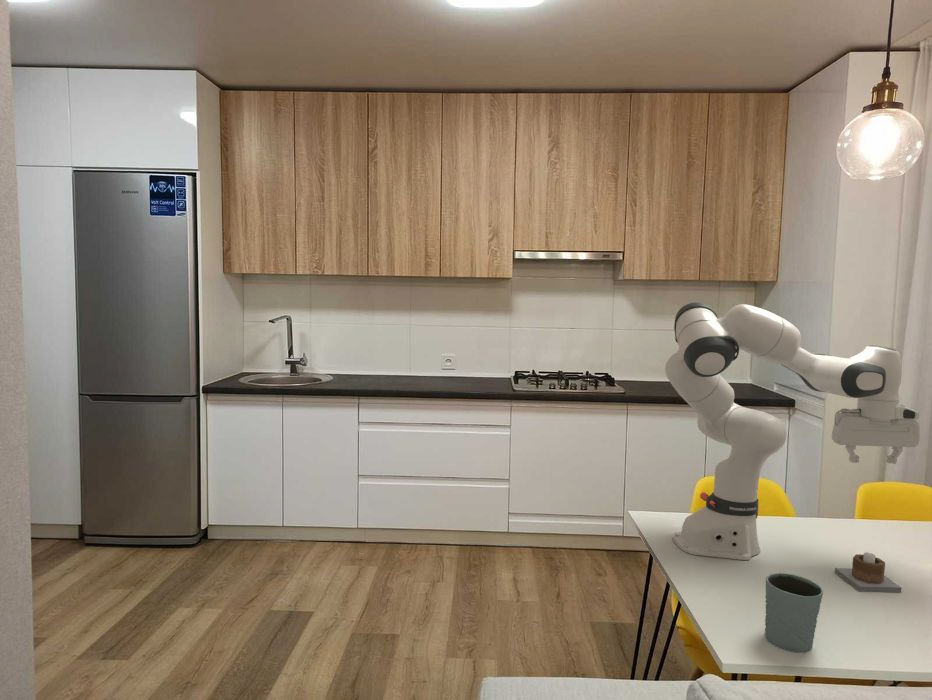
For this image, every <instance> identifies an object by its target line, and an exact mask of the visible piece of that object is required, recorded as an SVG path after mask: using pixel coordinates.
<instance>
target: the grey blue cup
mask: <svg viewBox="0 0 932 700" xmlns="http://www.w3.org/2000/svg"><path fill="white" fill-rule="evenodd" d="M823 595H824V591H823V588H822V586H820V585H819V584H818V583H817V582H815V581H812V580H810V579H808V578H806V577H802V576H799V575H795V574H791V573H786V572H785V573H784V572H775V573H770V574H768V575H767V576H766V577H765V601H764V602H765V616H764V617H765V619H764V625H765V627H764V636H765V639H766V641H767V642H769V643H770V644H771V645H772V646H774V647H776V648H777V649H781V650H783V651H786V652H789V653H798V654H799V653H801V654H802V653H808V652H810V651H811V650H812V648H813V644H814V638H815V633H816V628H817V623H818V615H819V613H820V609H821V604H822V600H823Z"/></svg>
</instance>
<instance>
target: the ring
mask: <svg viewBox="0 0 932 700" xmlns="http://www.w3.org/2000/svg"><path fill="white" fill-rule="evenodd" d="M863 557H864V554H861V553H860V554H855V555H854V556H853V557H852V565H851V568H852V575H853V576H854V577H855V578H857V579H858V580H861V581H865V582H868V583H882V582H883V580H884V576H885V570H886V569H885V568H886V562H885V561H884V560H882V559H881V558H879V557H877V556H875V563H868V562H864V561H863Z"/></svg>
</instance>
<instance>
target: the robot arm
mask: <svg viewBox="0 0 932 700" xmlns="http://www.w3.org/2000/svg"><path fill="white" fill-rule="evenodd" d="M673 329H674V337H675V338H674V339H675V342H676V343H677V344H678V350H677V351H676V352H675V353H673V354H672V355H671V356H669V358H668V359H667V361H666V363H665V367H664V372H665V375H666V377H667V379H668V381H669V383H670V384H671V386H672V387H673V388H674V390H675V392H677V394H678V395H679V396H680V397H681V398H682V399H683V401H685V402H686V403H687V404H688V405H689V406H690V407H691V408H692V410H694V411H695V412H696V413H697V427H698V429H699V431H700V432H701V433H702V434H703V435H704V436H706V437H708V438H710V439H711V440H713V441H716V442H718V443H720V444H721V443H722V444H724V445H728V446H731V450H730V453H729V456H728V457H727V459H726V458H725V459H724V460H722V461H720V462H718V463H717V464H716V466H715V468H714V480H713V492H712V493H711V494H708V493H706V492H705V491H703V492H701V493H700V495H699V497H700V499H701V500H702V501H704V502H705V505H704V506H703V507H701V508H700V509H698V510H696V511H695V512H693V513H690V515H688V516H687V517H685V519H684V521H683V523H682V528H681V531H675V532H674V533H673V534H672V540H673V542H674V543H675V545H676V546H677V547H678V548H679V549H680V550H681V551H683V552H685V553H687V554H690V555H694V556H703V557H714V558H721V559H732V560H740V561H741V560H742V561H743V560H744V561H748V560H750V559H751V558H752V557H753V556H756V555H758V554H759V553H760V551H761V548H760V544H759V541H758V533H757V532H758V530H757V519H758V515H759V498H758V492H759V491H758V490H759V480H760V474H761V471H762V468H763V466H764V464H765V462H766V461H767V460H768V458H769V457H770V456H772V455H774V454H775V453H777V452H779V451H780V450H781V448H782V447H783V446H784V445H785V442H786V440H787V428H786V425H785V423H784V422H783V420H781V418H778V417H777V416H774V415H772V414H770V413H768V412H766V411H762V410H757V409H753V408H748V407H744V406H742V405H739V404H738V403H735V402H734V401H735V390H734V388H733V387H732V386H731V385H730V384H729V383H728V382H727V380H726V379H725V377H723V376H722V375H721V373H723V372H724V371H725V370H727V368H729V367H730V365H732V362H733V361H735V360H736V359H737V358H738V357H739V353H740V350H741V351H744V352H746V353H748V354H749V355H752V356H754V357H756V358H758V359H761V361H765V362H768V363H771V364H777V365H781V366H782V367H784V368H786V369H787V370H789V371H792V372H793V373H794V374H796V375H798V376H799V378H800V379H801V380H802V382H803V383H804V384H805V385H806V386H807V388H809V389H811V390H812V391H815V392H820V393H827V394H832V395H836V396H842V397H846V398H848V399H849V398H851V399H857V404H856V408H841V409H840V410H837V411H836V412H835V414H834V417H833V418H834V419H833V420H834V423H833V425H832V426H833V427H832V431H831V440H832V442H834V444H837V445H839V446H845V449H846V451H847V453H848V455H849V457H848V458H849V459H848V460H849V462H851V463H854V464H855V463H859V462H860V461H859V460H860V456H859V455H857V454H856V453H855V450H857V449H856V448H857V447H859V446H860V447H861V446H863V447H889V448H890V447H891V449H892V452H891V453H890V455H886V463H887V464H889V465H890V464H891V465H893V464H894V465H896V464H898V463H897V462H898V457H900V455H901V453H902V452H903V449H904V448H916V447H918V445H919V443H920V438H921V426H920V423H919V421H918V420H919V418H920V412H919V411H917V410H914V409H912V408H909V407H906V406H905V405H902V404H900V396H899V388H900V386H901V383H902V374H903V373H902V372H903V371H902V370H903V368H902V367H903V363H902V357H901V354H900V352H899V351H898V350H896V349H895V348H892V347H888V346H880V345H873V344H872V345H867V346H865V347H864V349H863V350H862V351H860V352H859V353H858V354H855V355H854V356H851V357H848V358H847V357H846V358H845V357H840V356H833V355H830V354H824V353H812V352H809V351H808V350H806V349H804V348H802V347H801V344H802V335H801V332H800V330H799V328H797V326H795V325H794V324H792V322H790V321H789V320H786V319H785V318H784V317H781V316H780V315H777V314H775V313H773V312H771V311H769V310H766V309H764V308H761V307H757V306H755V305H751V304H746V303H740V304H737V305H734V306H733V307H731V308H729V309H728V311H727V312H726V314H724V316H721V317H720V318H718V315H717V313H716V312H715V311H714V309H713V308H712V307H711V306H709V305H708V304H705V303H702V302H699V301H698V302H696V301H695V302H690V303H689V302H688V304H684V305H683V306H682V307H680V309H678V311H677V312H676V315H675V318H674V326H673Z"/></svg>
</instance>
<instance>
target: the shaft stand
mask: <svg viewBox="0 0 932 700" xmlns="http://www.w3.org/2000/svg"><path fill="white" fill-rule="evenodd" d="M863 555H864V557H863V561H864V562H868V563H875V557H876V555H875V554H874V553H871V552H864V553H863ZM834 573H835V574H836V575H837V576H839V577H840V578H842V579H843V580H844V581H845V582H847V583H848V584H849V585H851V586H852V587H853V588H854V589H856V590H857V591H858V592H871V593H873V592H874V593H877V592H879V593H902V590H903V587H902V586H900V585H899V584H897V583H896V582H895V581H893V580H892V579H890V578H889V577H887V576H886V575H884V580H883V582H882V583H868V582H865V581H861V580H858V579H857V578H855V577H854V576H853V575H852V567H849V568H848V567H845V568H844V567H835V570H834Z"/></svg>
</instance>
